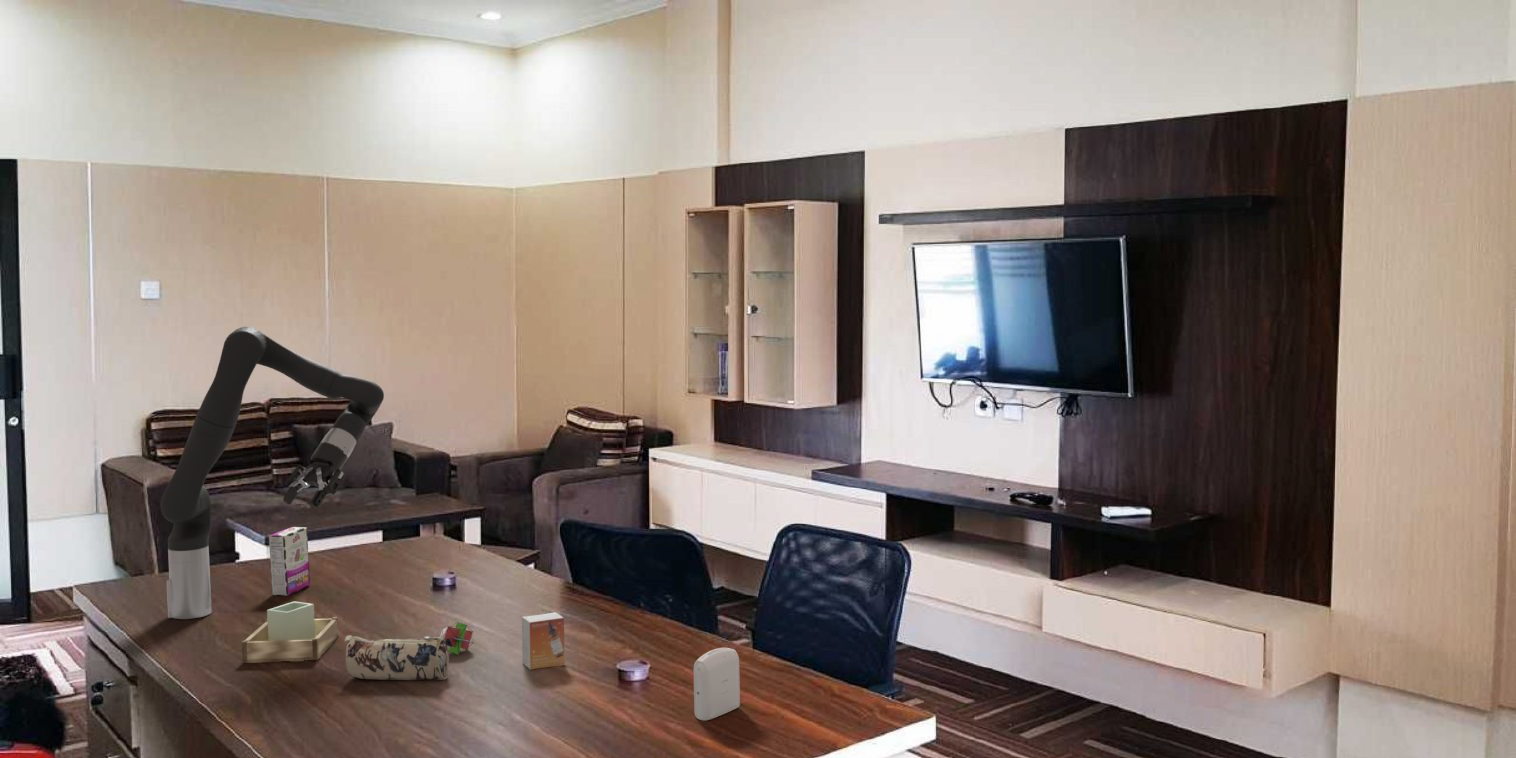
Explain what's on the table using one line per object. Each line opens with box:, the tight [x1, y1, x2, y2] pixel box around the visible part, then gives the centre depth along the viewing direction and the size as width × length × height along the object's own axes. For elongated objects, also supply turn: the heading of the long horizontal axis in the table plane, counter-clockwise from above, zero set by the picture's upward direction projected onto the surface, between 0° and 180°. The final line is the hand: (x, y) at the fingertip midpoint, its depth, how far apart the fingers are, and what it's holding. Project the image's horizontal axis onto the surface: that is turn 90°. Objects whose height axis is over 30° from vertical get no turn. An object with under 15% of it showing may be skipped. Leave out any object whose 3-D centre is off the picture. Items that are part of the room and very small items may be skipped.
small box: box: [521, 611, 566, 670], centre depth 269 cm, size 8×6×10 cm
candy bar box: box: [268, 526, 311, 597], centre depth 334 cm, size 11×5×16 cm, turn 168°
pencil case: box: [344, 633, 452, 681], centre depth 261 cm, size 22×8×10 cm, turn 86°
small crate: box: [266, 600, 315, 641], centre depth 281 cm, size 6×8×9 cm
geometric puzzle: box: [439, 621, 474, 656], centre depth 278 cm, size 7×7×8 cm
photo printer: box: [693, 647, 741, 722], centre depth 238 cm, size 10×4×12 cm, turn 140°
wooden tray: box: [241, 616, 339, 664], centre depth 281 cm, size 16×18×5 cm
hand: (299, 504), depth 296 cm, fingers open, 8 cm apart
